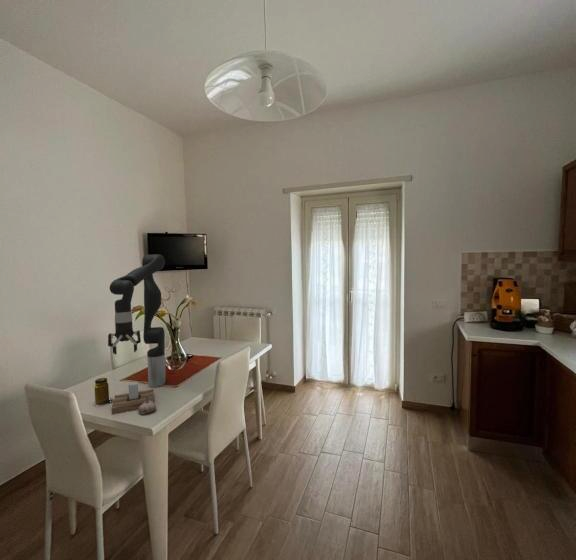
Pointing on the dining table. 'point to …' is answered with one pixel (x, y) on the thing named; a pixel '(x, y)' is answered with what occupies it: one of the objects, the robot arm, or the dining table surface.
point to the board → (124, 405)
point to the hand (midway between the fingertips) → (125, 352)
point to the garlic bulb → (147, 406)
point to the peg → (133, 391)
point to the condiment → (102, 392)
